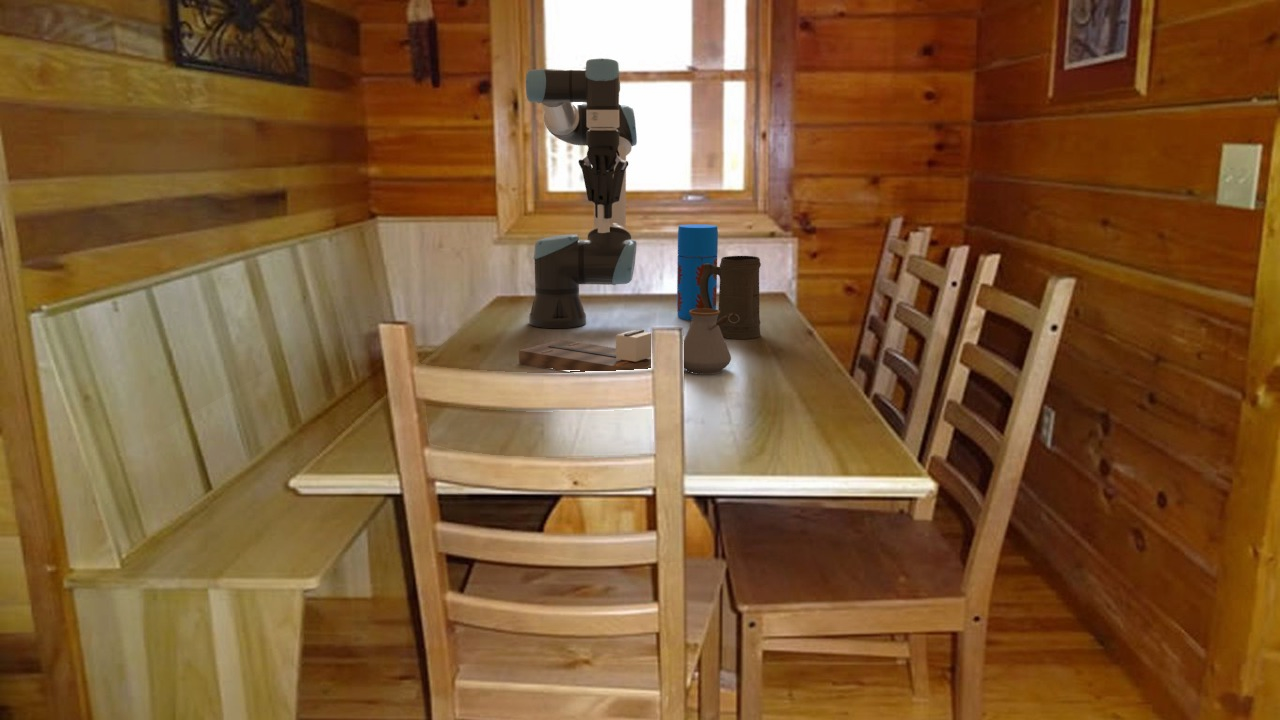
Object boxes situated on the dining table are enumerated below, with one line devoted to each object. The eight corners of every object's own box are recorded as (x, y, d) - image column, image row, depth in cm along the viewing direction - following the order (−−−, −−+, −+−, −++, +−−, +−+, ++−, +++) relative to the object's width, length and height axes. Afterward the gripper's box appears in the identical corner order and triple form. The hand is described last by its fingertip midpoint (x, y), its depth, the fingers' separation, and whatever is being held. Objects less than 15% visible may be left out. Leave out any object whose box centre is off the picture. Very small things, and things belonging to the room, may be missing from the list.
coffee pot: (669, 366, 203) (669, 297, 199) (718, 362, 206) (719, 295, 203) (705, 390, 183) (707, 314, 180) (759, 386, 186) (762, 311, 183)
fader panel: (519, 363, 205) (518, 349, 204) (560, 352, 216) (559, 338, 215) (639, 384, 187) (639, 369, 186) (677, 371, 198) (677, 356, 197)
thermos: (721, 315, 263) (723, 225, 257) (707, 321, 254) (709, 228, 248) (685, 312, 267) (686, 223, 262) (670, 318, 258) (671, 226, 252)
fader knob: (616, 358, 194) (615, 332, 193) (632, 353, 199) (632, 328, 198) (635, 361, 191) (635, 335, 190) (652, 356, 196) (652, 331, 195)
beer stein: (762, 331, 240) (759, 253, 236) (764, 339, 230) (760, 258, 225) (702, 334, 242) (698, 256, 238) (701, 342, 231) (696, 261, 227)
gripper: (570, 129, 215) (572, 231, 222) (616, 130, 208) (616, 236, 214) (590, 128, 221) (591, 228, 228) (635, 129, 214) (635, 232, 220)
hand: (603, 232), depth 221 cm, fingers closed
